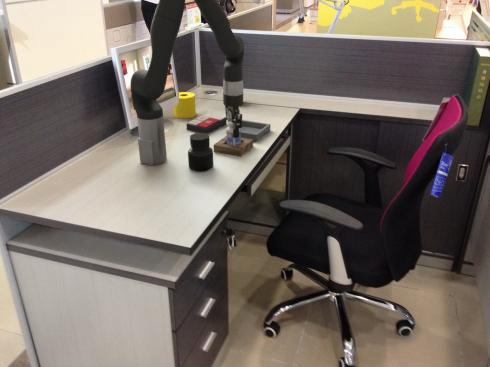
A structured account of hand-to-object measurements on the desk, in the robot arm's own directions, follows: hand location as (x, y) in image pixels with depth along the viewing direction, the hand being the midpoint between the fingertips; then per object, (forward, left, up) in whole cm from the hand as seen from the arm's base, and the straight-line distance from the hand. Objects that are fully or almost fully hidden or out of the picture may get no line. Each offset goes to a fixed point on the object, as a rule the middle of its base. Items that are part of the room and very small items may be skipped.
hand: (233, 134), depth 183 cm
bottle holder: (+1, 0, -6) cm, 6 cm away
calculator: (+18, +22, -7) cm, 30 cm away
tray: (+19, +2, -6) cm, 20 cm away
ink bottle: (-19, +3, -7) cm, 21 cm away
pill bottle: (0, 0, -5) cm, 5 cm away
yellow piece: (+29, +40, -7) cm, 50 cm away
